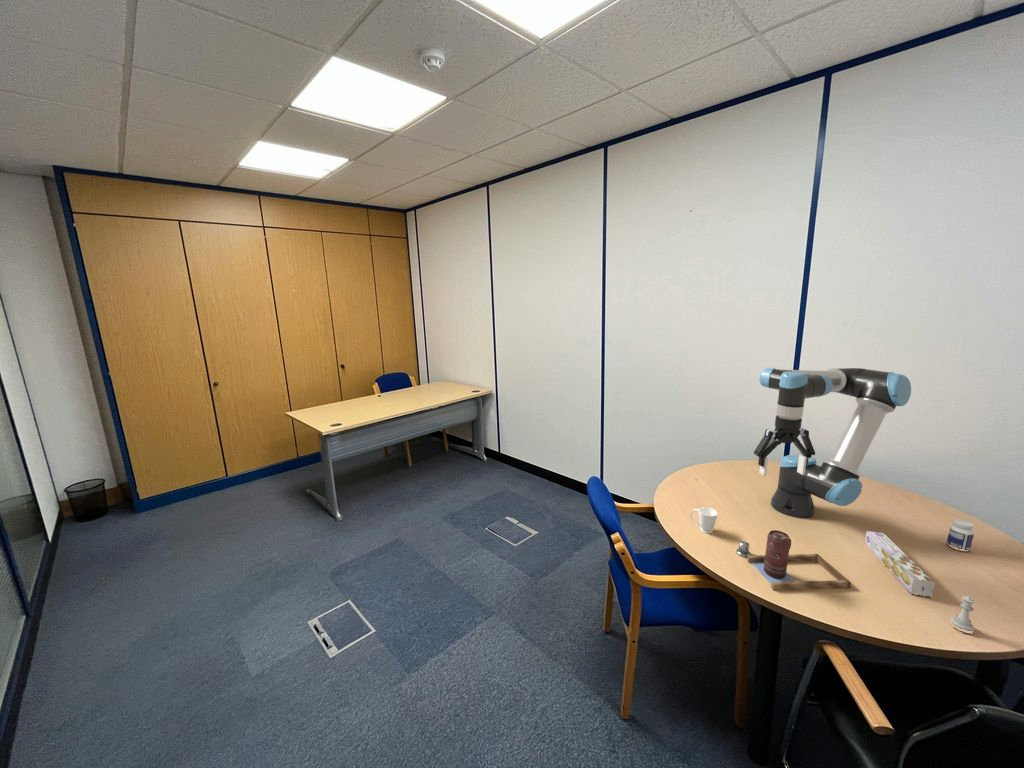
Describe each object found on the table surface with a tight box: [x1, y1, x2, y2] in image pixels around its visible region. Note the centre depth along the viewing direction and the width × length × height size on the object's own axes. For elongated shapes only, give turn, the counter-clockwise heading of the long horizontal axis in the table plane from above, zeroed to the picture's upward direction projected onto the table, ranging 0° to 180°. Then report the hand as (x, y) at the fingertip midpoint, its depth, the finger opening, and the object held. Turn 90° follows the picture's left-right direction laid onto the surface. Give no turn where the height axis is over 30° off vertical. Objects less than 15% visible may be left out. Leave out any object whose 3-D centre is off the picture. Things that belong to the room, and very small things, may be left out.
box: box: [864, 530, 936, 597], centre depth 133 cm, size 27×5×6 cm, turn 163°
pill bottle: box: [946, 518, 975, 550], centre depth 142 cm, size 6×6×10 cm
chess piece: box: [950, 595, 976, 631], centre depth 109 cm, size 4×4×10 cm
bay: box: [746, 553, 852, 591], centre depth 132 cm, size 24×14×2 cm, turn 90°
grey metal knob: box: [735, 540, 752, 559], centre depth 142 cm, size 4×4×4 cm
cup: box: [689, 506, 718, 534], centre depth 158 cm, size 7×10×8 cm
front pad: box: [751, 562, 796, 585], centre depth 132 cm, size 8×11×1 cm
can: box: [764, 529, 792, 579], centre depth 130 cm, size 6×6×14 cm
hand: (781, 473), depth 144 cm, fingers open, 13 cm apart
